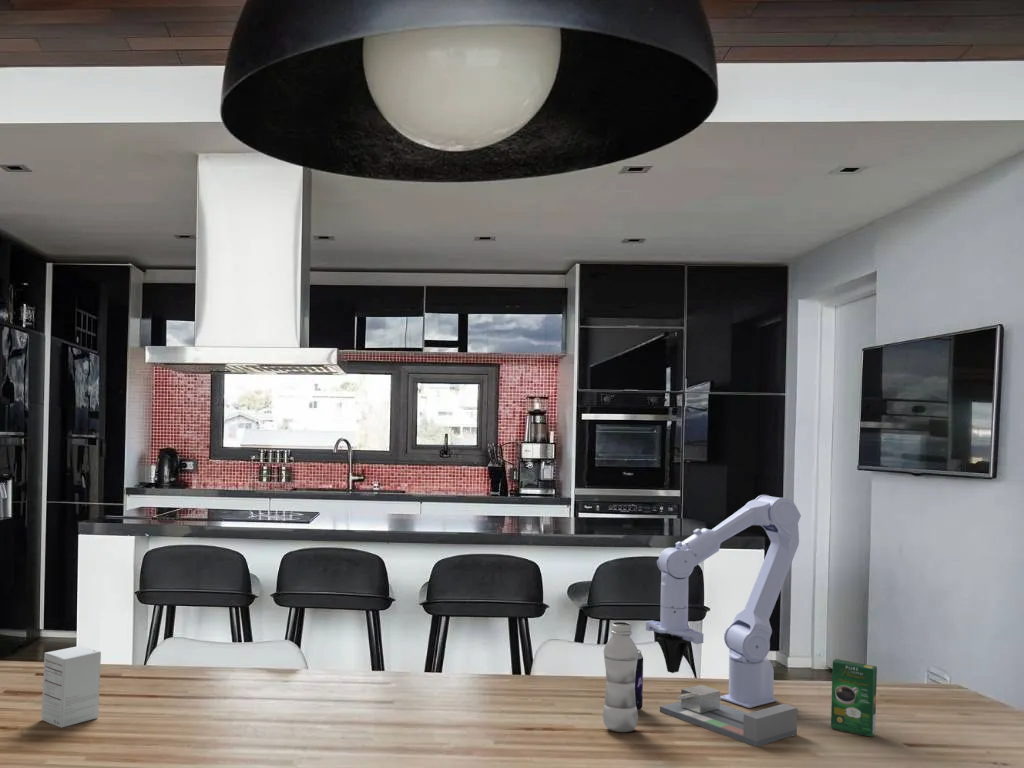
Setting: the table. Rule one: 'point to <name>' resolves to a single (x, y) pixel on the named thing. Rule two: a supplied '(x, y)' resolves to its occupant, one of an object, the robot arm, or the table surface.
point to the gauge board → (742, 722)
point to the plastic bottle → (620, 680)
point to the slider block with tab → (700, 698)
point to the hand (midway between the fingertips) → (673, 671)
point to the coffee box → (853, 697)
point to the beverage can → (639, 681)
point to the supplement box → (71, 686)
